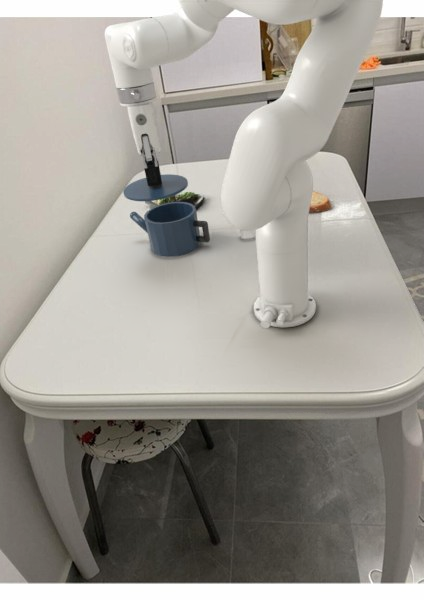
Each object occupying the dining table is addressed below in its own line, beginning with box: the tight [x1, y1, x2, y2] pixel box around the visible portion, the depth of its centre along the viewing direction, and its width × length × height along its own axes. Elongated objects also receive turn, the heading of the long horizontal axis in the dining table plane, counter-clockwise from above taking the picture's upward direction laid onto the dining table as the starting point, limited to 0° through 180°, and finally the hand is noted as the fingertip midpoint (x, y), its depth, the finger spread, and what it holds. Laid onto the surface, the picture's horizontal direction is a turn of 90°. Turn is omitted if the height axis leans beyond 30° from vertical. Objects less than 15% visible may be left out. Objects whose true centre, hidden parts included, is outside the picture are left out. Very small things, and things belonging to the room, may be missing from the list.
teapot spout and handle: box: [129, 211, 211, 243], centre depth 117 cm, size 2×23×8 cm, turn 67°
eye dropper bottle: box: [239, 230, 256, 240], centre depth 115 cm, size 4×6×12 cm
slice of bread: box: [309, 190, 333, 214], centre depth 132 cm, size 18×18×4 cm
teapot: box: [143, 202, 202, 258], centre depth 117 cm, size 14×14×10 cm
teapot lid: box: [122, 157, 189, 202], centre depth 98 cm, size 15×15×7 cm
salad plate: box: [144, 191, 205, 211], centre depth 142 cm, size 19×18×5 cm
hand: (154, 181), depth 99 cm, fingers closed on teapot lid, 3 cm apart
